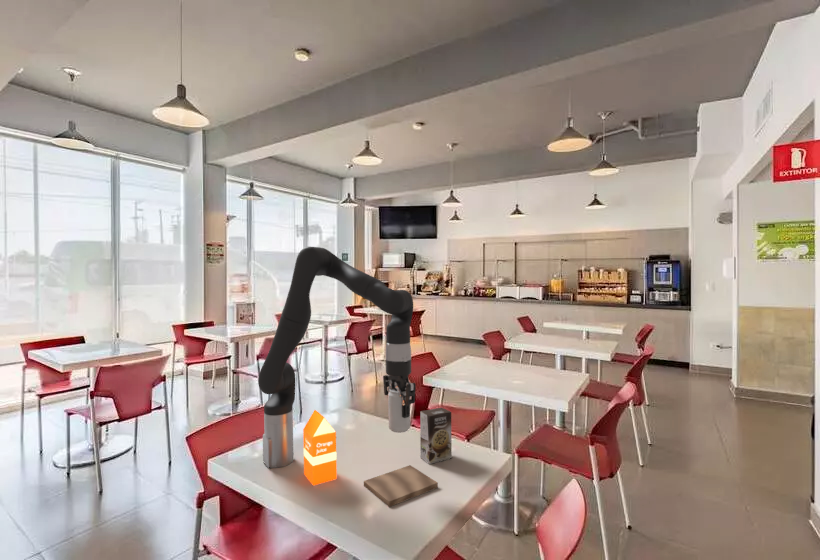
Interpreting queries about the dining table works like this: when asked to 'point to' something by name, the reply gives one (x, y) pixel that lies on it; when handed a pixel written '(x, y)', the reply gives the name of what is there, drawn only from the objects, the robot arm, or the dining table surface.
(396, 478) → the walnut board
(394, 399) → the beverage can
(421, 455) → the coffee box
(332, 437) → the orange juice
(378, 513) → the dining table surface
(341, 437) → the dining table surface
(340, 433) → the dining table surface
